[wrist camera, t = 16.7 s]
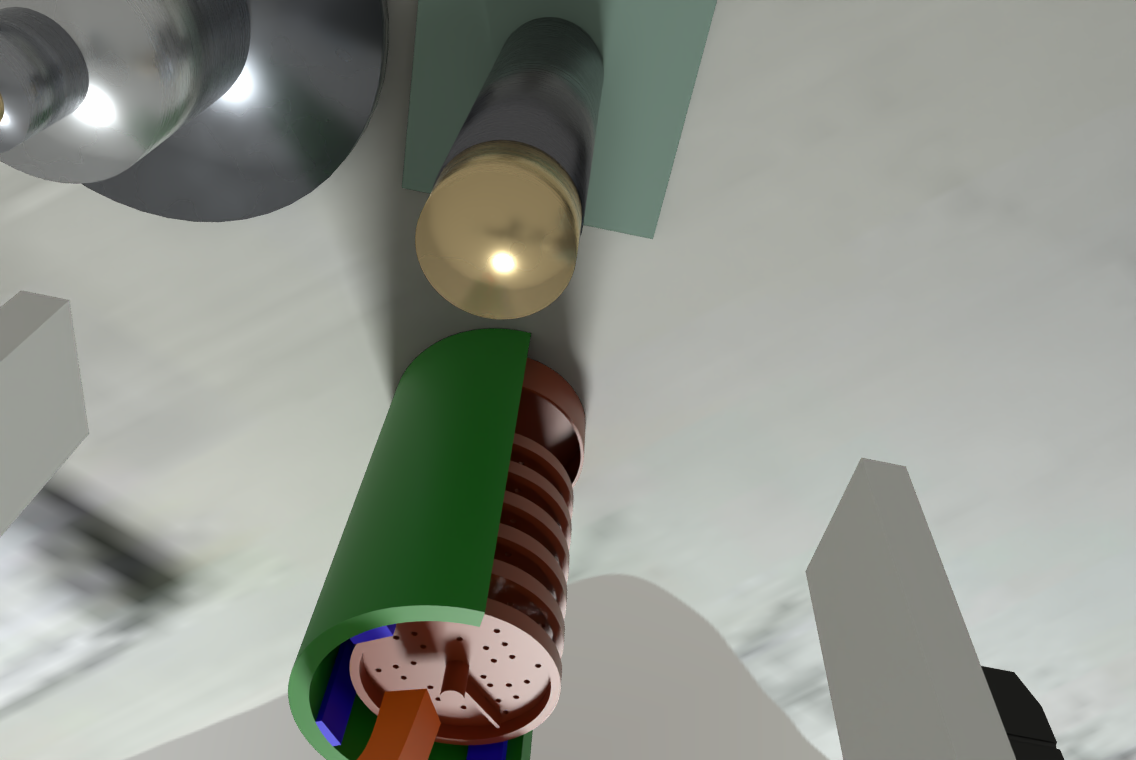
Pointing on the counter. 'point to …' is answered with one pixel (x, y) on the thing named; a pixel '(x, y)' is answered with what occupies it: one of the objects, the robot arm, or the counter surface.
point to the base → (270, 117)
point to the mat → (628, 101)
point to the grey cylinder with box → (109, 78)
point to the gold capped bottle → (517, 177)
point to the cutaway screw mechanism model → (450, 565)
